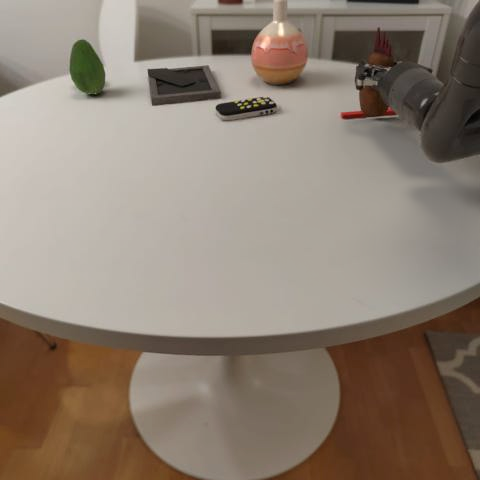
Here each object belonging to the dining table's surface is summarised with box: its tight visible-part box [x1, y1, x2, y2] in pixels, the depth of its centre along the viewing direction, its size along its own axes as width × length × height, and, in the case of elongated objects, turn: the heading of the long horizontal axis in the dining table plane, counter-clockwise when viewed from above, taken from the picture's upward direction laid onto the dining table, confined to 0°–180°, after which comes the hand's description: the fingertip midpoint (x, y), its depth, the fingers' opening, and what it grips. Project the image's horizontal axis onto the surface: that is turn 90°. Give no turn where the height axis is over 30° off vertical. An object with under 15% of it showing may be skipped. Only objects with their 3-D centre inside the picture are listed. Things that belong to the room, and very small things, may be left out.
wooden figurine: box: [358, 26, 395, 118], centre depth 86 cm, size 7×6×15 cm
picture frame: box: [146, 65, 222, 106], centre depth 112 cm, size 16×2×21 cm
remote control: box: [215, 95, 278, 122], centre depth 98 cm, size 6×13×2 cm, turn 109°
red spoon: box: [340, 107, 397, 120], centre depth 96 cm, size 19×6×1 cm, turn 98°
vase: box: [250, 0, 309, 86], centre depth 108 cm, size 14×14×18 cm
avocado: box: [68, 38, 106, 95], centre depth 107 cm, size 8×8×12 cm
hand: (374, 64), depth 87 cm, fingers closed on wooden figurine, 4 cm apart
